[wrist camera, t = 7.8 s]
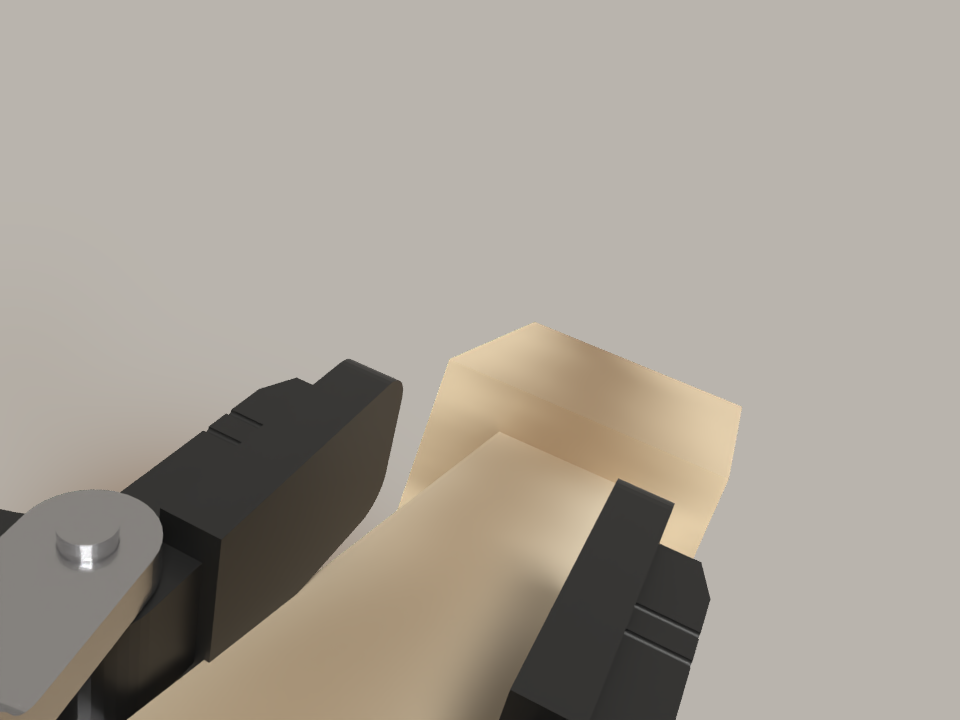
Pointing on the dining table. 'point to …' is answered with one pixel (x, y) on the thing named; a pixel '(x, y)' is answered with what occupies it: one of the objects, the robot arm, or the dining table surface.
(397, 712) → the mallet
